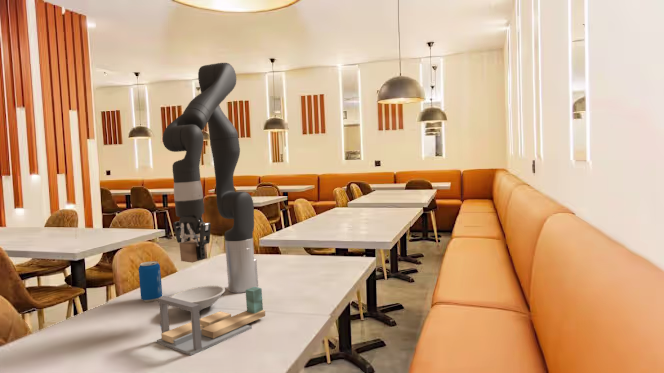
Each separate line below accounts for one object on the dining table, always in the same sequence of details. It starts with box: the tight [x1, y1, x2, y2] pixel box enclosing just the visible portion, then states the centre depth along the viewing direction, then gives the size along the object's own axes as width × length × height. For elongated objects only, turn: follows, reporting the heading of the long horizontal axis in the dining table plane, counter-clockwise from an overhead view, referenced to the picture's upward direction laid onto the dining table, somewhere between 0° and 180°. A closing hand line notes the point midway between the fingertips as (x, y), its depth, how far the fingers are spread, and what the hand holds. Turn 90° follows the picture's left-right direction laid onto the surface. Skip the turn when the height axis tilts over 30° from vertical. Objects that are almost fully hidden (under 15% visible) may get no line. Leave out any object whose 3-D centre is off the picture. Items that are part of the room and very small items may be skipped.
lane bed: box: [156, 295, 252, 356], centre depth 108 cm, size 18×14×11 cm
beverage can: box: [138, 260, 163, 303], centre depth 141 cm, size 6×6×12 cm
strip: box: [201, 287, 266, 338], centre depth 111 cm, size 17×5×8 cm, turn 143°
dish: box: [170, 284, 226, 312], centre depth 128 cm, size 18×14×5 cm
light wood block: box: [200, 310, 232, 327], centre depth 114 cm, size 7×5×2 cm, turn 143°
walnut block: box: [178, 239, 208, 263], centre depth 120 cm, size 5×5×5 cm
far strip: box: [160, 322, 203, 343], centre depth 106 cm, size 8×5×2 cm, turn 143°
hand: (194, 258), depth 120 cm, fingers closed on walnut block, 5 cm apart
